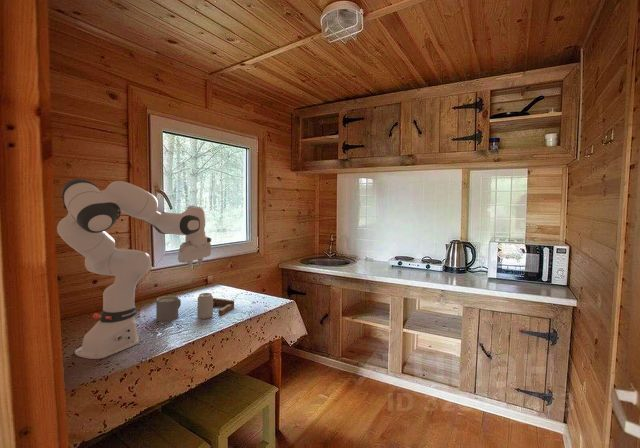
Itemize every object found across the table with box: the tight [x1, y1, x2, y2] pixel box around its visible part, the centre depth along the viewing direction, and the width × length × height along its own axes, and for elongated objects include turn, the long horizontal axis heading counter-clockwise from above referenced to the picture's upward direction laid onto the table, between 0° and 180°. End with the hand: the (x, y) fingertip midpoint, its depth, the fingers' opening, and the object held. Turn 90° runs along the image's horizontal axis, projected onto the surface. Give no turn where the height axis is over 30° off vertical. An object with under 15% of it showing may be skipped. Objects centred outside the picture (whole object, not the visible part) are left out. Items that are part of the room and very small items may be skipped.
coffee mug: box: [155, 295, 182, 323], centre depth 160 cm, size 13×10×10 cm
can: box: [197, 292, 214, 320], centre depth 161 cm, size 8×8×12 cm
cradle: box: [213, 297, 235, 316], centre depth 172 cm, size 12×13×4 cm
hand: (195, 268), depth 151 cm, fingers open, 4 cm apart
